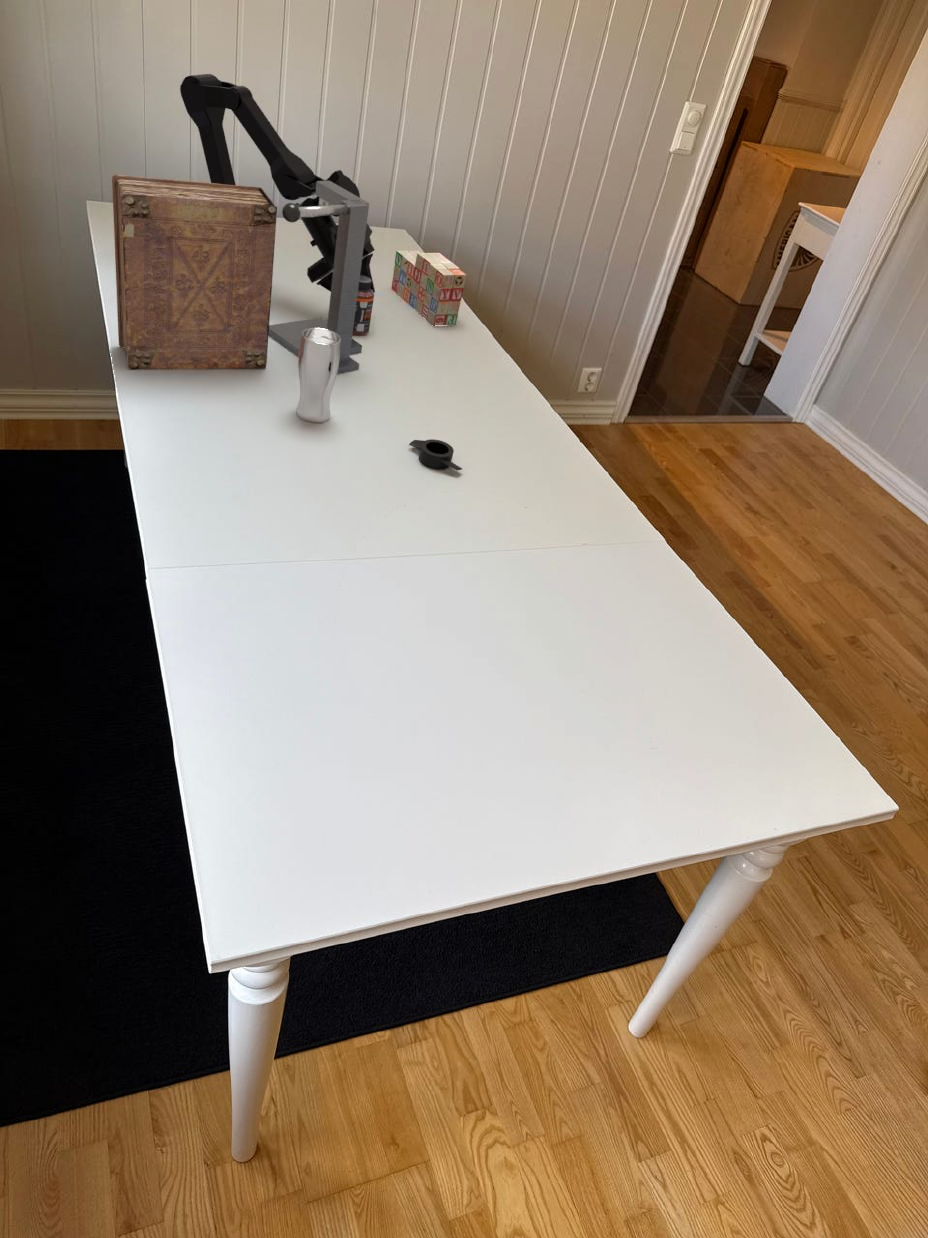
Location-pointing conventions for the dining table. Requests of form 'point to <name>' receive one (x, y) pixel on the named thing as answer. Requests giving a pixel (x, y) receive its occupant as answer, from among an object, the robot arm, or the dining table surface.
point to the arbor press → (334, 271)
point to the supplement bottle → (363, 306)
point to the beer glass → (317, 373)
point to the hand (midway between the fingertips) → (362, 298)
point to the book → (193, 273)
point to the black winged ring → (435, 454)
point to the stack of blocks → (429, 285)
